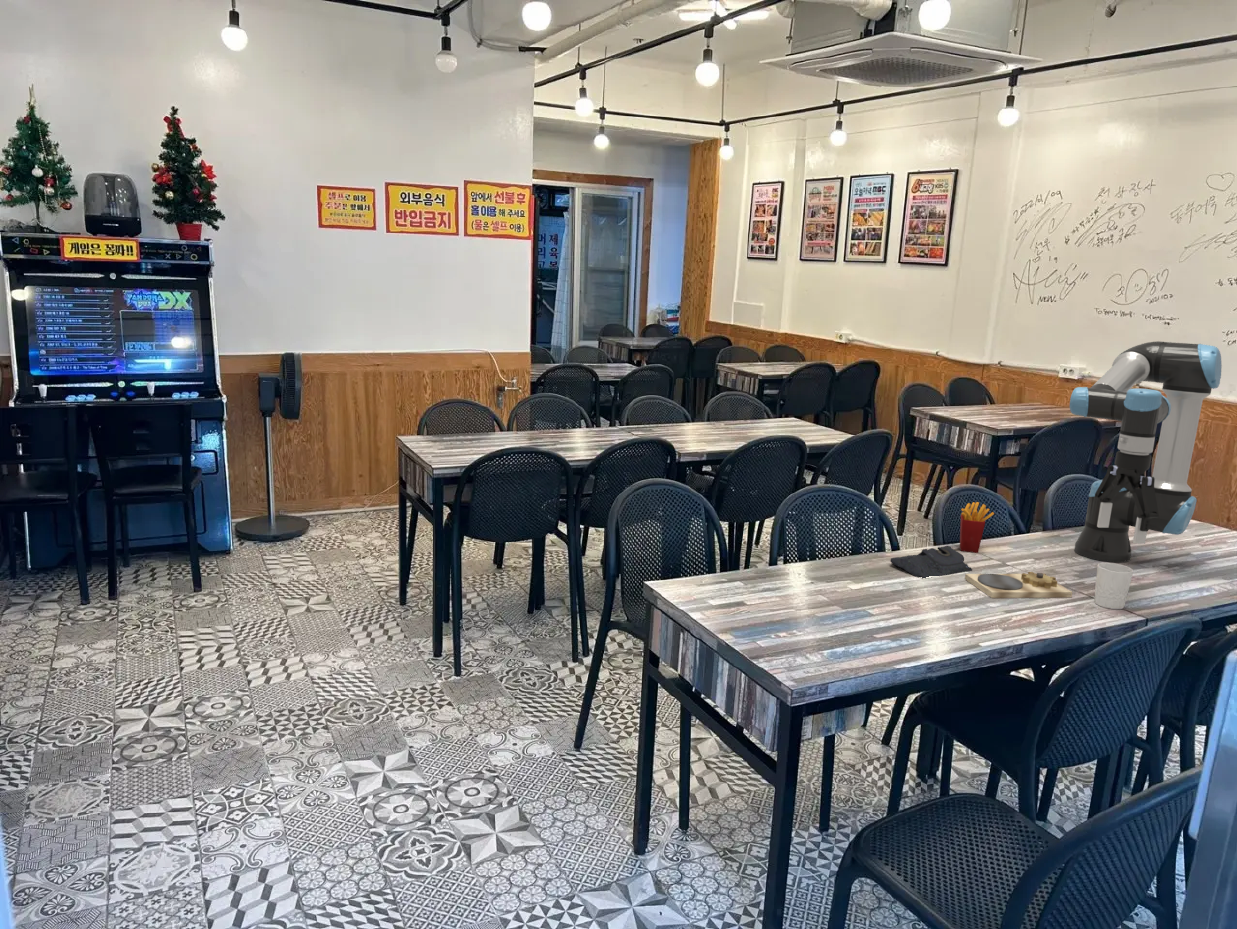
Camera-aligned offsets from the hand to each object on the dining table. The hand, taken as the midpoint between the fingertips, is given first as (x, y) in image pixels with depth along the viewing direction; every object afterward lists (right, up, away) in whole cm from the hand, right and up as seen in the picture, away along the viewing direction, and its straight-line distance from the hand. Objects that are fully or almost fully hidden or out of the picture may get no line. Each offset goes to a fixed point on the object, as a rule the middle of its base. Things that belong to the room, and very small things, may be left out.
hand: (1120, 535), depth 219 cm
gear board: (-20, -15, +13) cm, 28 cm away
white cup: (-1, -18, +4) cm, 19 cm away
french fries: (-18, -8, +46) cm, 50 cm away
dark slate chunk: (-38, -12, +29) cm, 49 cm away
